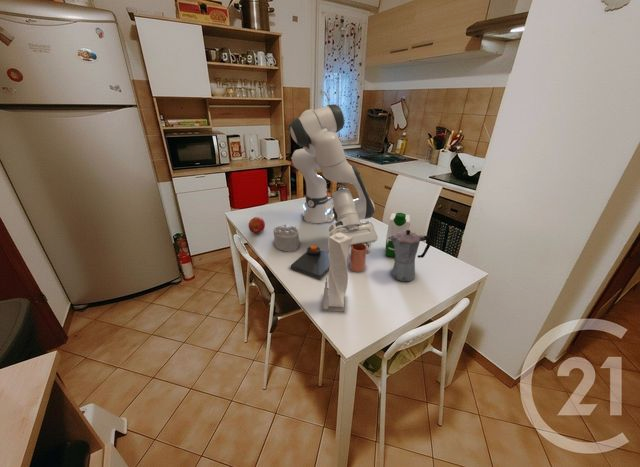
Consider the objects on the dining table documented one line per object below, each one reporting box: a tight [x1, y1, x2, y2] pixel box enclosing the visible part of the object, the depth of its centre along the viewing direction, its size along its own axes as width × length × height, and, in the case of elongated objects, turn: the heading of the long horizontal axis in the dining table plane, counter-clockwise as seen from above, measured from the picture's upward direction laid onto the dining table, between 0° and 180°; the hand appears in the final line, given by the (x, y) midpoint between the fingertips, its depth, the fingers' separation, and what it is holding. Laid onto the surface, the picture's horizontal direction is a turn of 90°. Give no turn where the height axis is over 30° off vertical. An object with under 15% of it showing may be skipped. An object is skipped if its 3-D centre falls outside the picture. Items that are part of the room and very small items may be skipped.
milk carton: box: [385, 212, 411, 259], centre depth 114 cm, size 9×9×20 cm
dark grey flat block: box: [290, 246, 330, 280], centre depth 110 cm, size 16×14×4 cm
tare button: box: [309, 244, 318, 252], centre depth 114 cm, size 3×3×2 cm
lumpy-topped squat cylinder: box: [273, 224, 300, 252], centre depth 123 cm, size 10×13×9 cm
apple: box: [248, 216, 266, 234], centre depth 134 cm, size 8×8×8 cm
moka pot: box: [389, 229, 433, 282], centre depth 100 cm, size 10×15×20 cm, turn 88°
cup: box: [349, 243, 368, 273], centre depth 106 cm, size 6×6×10 cm
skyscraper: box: [322, 225, 352, 313], centre depth 84 cm, size 8×8×28 cm
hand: (358, 255), depth 106 cm, fingers open, 8 cm apart
